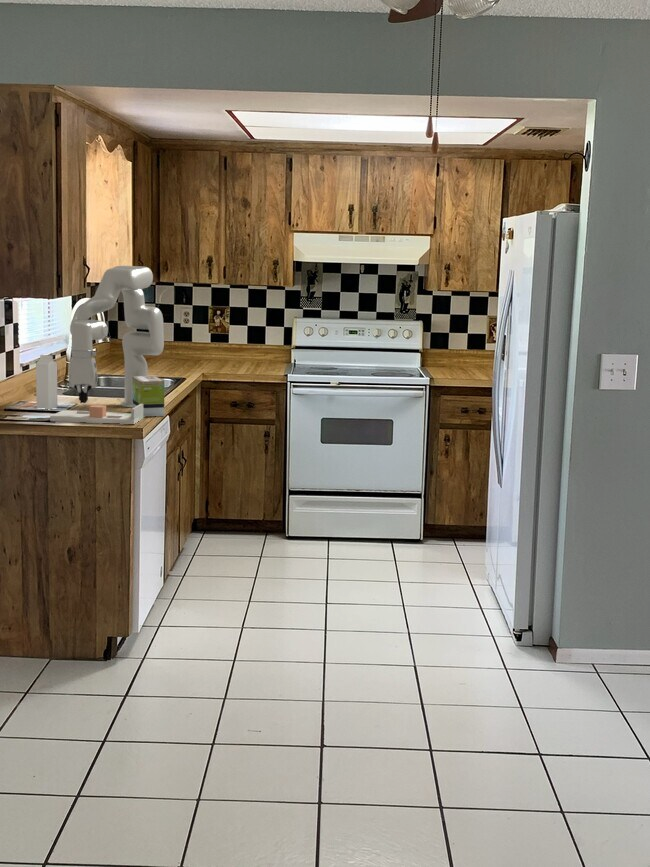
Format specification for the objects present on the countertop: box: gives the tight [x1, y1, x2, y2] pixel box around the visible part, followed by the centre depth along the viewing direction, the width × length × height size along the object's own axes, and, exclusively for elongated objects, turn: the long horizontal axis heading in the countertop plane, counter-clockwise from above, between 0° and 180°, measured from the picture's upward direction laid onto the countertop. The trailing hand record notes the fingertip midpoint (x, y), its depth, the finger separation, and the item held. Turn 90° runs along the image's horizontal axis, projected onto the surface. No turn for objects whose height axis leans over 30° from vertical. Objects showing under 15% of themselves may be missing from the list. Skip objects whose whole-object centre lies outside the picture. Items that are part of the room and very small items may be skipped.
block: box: [88, 404, 107, 418], centre depth 362 cm, size 5×5×4 cm
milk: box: [35, 354, 59, 409], centre depth 387 cm, size 6×6×22 cm
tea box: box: [132, 375, 165, 418], centre depth 385 cm, size 15×10×15 cm
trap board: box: [49, 404, 144, 425], centre depth 366 cm, size 15×32×6 cm, turn 87°
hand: (83, 402), depth 363 cm, fingers closed
